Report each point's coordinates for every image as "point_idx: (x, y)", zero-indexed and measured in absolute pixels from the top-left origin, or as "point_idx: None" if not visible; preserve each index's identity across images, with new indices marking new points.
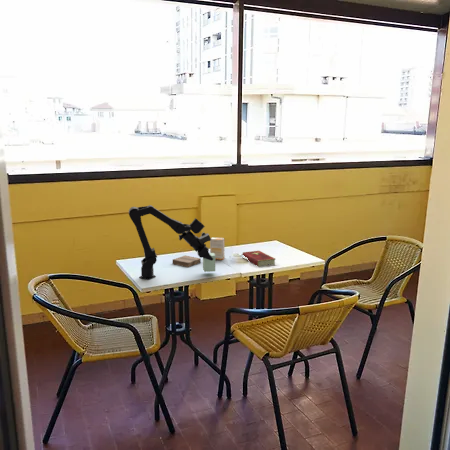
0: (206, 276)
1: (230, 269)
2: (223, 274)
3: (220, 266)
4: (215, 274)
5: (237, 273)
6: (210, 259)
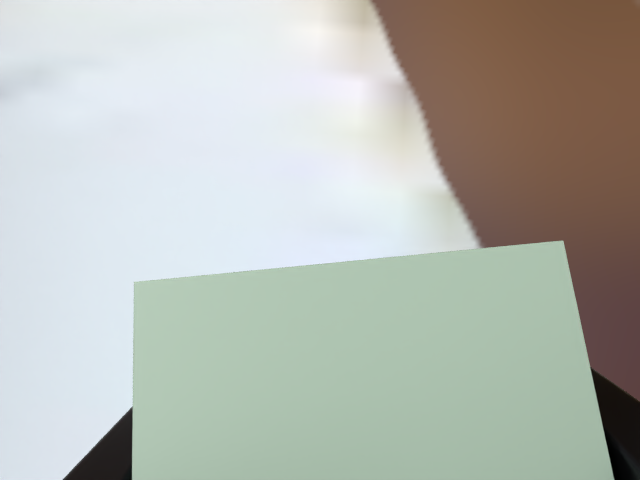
0: None
1: (178, 82)
2: (405, 193)
3: (10, 204)
4: None
5: (369, 10)
6: None
